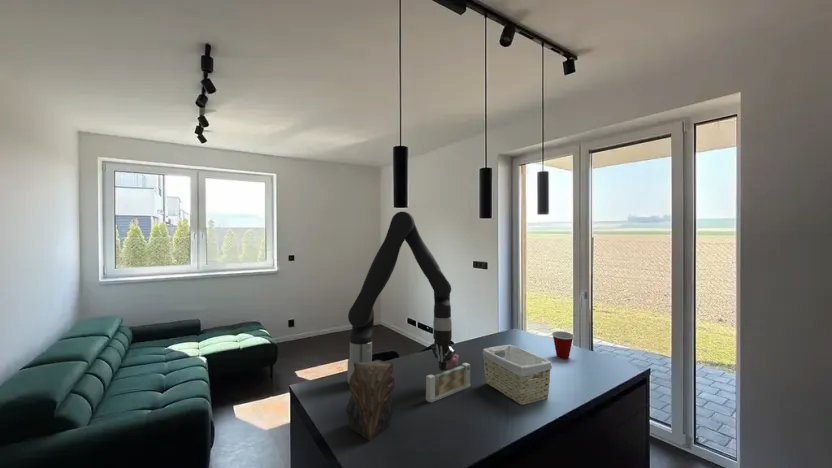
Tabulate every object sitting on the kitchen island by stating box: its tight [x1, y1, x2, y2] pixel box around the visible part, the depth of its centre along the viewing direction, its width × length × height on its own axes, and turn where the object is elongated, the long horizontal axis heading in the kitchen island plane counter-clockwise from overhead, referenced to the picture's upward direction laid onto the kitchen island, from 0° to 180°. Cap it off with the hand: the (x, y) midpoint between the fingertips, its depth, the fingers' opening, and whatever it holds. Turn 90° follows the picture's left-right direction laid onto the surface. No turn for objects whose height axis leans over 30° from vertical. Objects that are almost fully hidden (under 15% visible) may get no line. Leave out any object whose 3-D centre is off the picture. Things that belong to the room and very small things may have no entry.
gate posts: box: [425, 362, 472, 403], centre depth 134 cm, size 22×3×9 cm, turn 130°
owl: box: [345, 359, 395, 442], centre depth 110 cm, size 13×13×20 cm
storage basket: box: [482, 344, 553, 406], centre depth 137 cm, size 24×16×15 cm
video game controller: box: [445, 353, 460, 371], centre depth 162 cm, size 10×5×7 cm, turn 169°
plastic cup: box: [551, 330, 575, 360], centre depth 177 cm, size 11×11×12 cm
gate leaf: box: [432, 365, 465, 396], centre depth 134 cm, size 16×2×7 cm, turn 130°
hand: (442, 369), depth 141 cm, fingers closed
